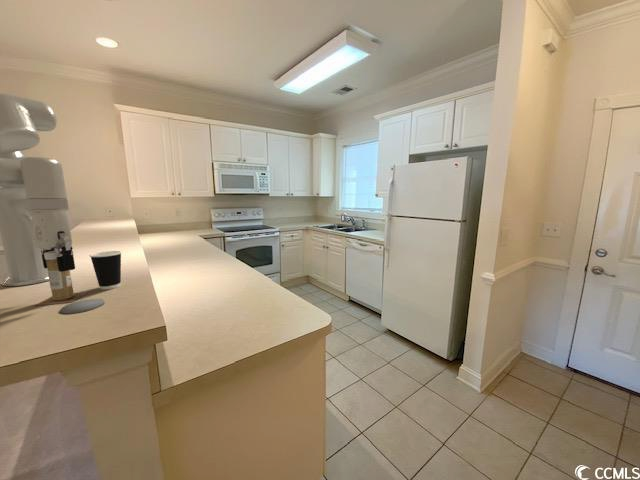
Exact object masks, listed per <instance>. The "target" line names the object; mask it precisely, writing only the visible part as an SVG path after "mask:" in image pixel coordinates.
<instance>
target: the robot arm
mask: <svg viewBox="0 0 640 480" xmlns="http://www.w3.org/2000/svg"><path fill="white" fill-rule="evenodd" d="M57 122H58V120H57V116H56V113H55V111H54V109H52V107H51V106H50V105H48V104H47V103H45V102H42V101H40V100H35V99H30V98H26V97H21V96H17V95H12V94H8V93H1V92H0V237H1V238H0V239H1V243H2V247H3V252H4V258H5V262H6V263H5V264H6V268H7V274H8V278H7V279H8V280H7V279H4V280H3V281H1V282H2V284H3V283H4V282H5V281H6V280H7V281H6V282H5V283H4V285H3V286H5V287H18V286H28V285H34V284H40V283H45V282H47V281H48V282H49V277H48V268H47V262H46V259H45V257H44V253H45V252H49V251H56V253H57V255H58V257H56V258H57V264H58V270H59V271H60V272H63V271H69V270H70V271H73V270H75V269H76V264H75V259H74V249H73V246H72V245H73V238H72V232H71V228H70V222H69V219H68V215H67V212H70V208H69V203H68V197H67V196H68V195H67V189H66V183H65V177H64V172H63V167H62V163H61V162H60V161H59V160H56V159H55V158H49V157H41V156H40V157H39V156H37V157H36V156H26V155H25V154H24V151H26V150H30V149H34V148H35V147H37V145H39V143H40V141H41V137H40V134H39V132H52V131H54V130H55V129H56V128H57V125H58V123H57ZM60 250H61V251H60ZM9 277H10V278H9Z"/></svg>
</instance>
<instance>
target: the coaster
mask: <svg viewBox="0 0 640 480" xmlns="http://www.w3.org/2000/svg"><path fill="white" fill-rule="evenodd" d="M104 304H105V300H104V299H102V298H89V299H83V300H78V301H74V302H71V303H68V304H67V305H66V304H65V305H64V306H62V307H61V308H60V312H61V313H62V314H64V315H65V314H69V315H71V314H78V313H83V312H89V311H92V310H95V309H97V308H100V307H102V306H104Z"/></svg>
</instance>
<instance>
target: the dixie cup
mask: <svg viewBox="0 0 640 480" xmlns="http://www.w3.org/2000/svg"><path fill="white" fill-rule="evenodd" d="M122 253H123V251H122V250H108V251H107V250H106V251H99V252H95V253H91V254H89V257H90V259H91V263H92V266H93V271H94V272H95V278H96V281H97V284H98V286H99V287H100V290H111V289H117V288H118V287H120V284H121V280H122V278H121V277H122V276H121V274H122V273H121V272H122V271H121V269H122Z"/></svg>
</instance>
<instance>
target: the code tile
mask: <svg viewBox="0 0 640 480" xmlns="http://www.w3.org/2000/svg"><path fill="white" fill-rule="evenodd" d="M73 293H74V296H73V297H71V298H69V299H65V300H57V301H56V300H53V299H52V297H53V296H52V295H51V296H50V297H48V298H46V299H44V300H42V301H41V302H38V303H37V304H35V305H34V307H38V306H48V305H57V304H60V305H61V304H67V303H68V304H71V303H74V302H77V300H79V299H80V298H82V297H84V296H85V295H87V294H89V291H85V292H83V291H81V292H73Z"/></svg>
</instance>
